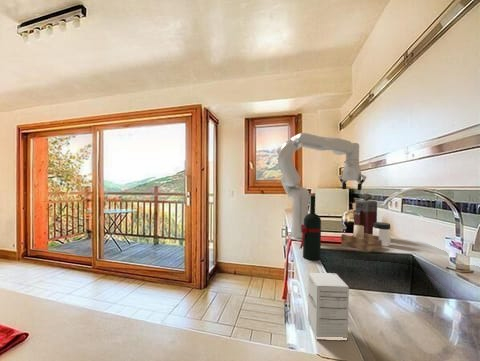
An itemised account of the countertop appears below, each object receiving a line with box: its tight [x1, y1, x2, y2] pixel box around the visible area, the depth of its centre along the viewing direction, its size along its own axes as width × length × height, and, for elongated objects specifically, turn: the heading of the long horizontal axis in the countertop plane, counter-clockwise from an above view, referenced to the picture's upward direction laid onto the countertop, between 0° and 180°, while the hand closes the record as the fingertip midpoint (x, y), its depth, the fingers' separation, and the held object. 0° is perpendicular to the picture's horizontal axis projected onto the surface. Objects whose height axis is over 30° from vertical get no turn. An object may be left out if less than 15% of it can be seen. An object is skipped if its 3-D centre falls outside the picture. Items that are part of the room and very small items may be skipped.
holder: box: [340, 230, 383, 253], centre depth 127 cm, size 15×14×6 cm
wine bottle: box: [299, 192, 322, 262], centre depth 106 cm, size 8×10×30 cm
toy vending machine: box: [353, 192, 378, 235], centre depth 148 cm, size 9×11×28 cm
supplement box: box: [307, 272, 350, 339], centre depth 55 cm, size 7×7×13 cm
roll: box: [353, 224, 364, 238], centre depth 128 cm, size 5×5×11 cm
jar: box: [373, 221, 392, 248], centre depth 131 cm, size 9×8×12 cm
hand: (351, 189), depth 146 cm, fingers open, 9 cm apart
